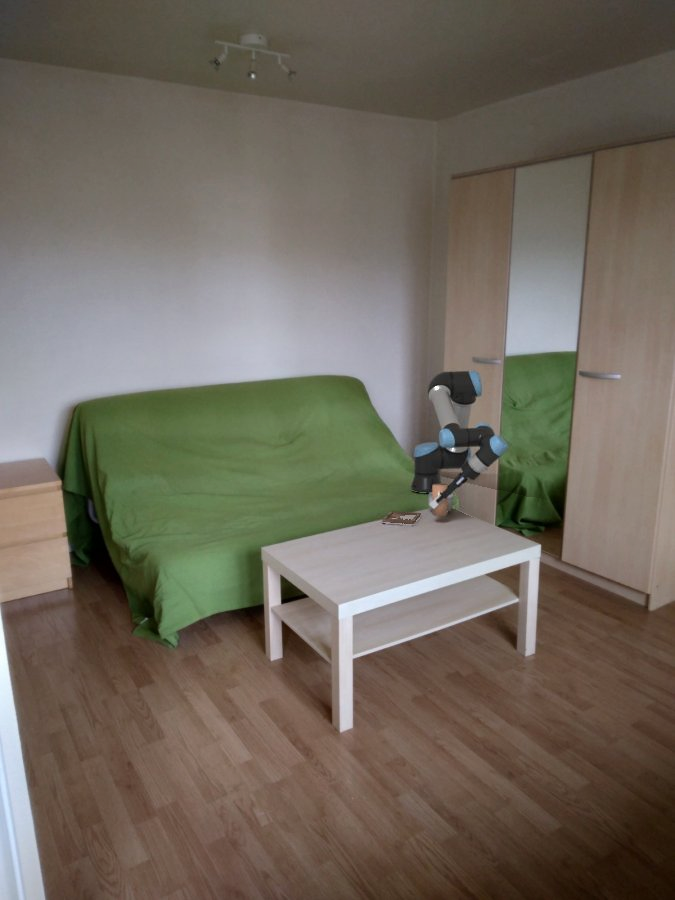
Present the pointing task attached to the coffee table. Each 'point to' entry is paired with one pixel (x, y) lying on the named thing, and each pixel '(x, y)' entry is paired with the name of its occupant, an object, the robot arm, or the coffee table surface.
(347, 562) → the coffee table surface
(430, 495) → the teacup
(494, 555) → the coffee table surface
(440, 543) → the coffee table surface
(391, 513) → the tray
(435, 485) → the pillar candle
